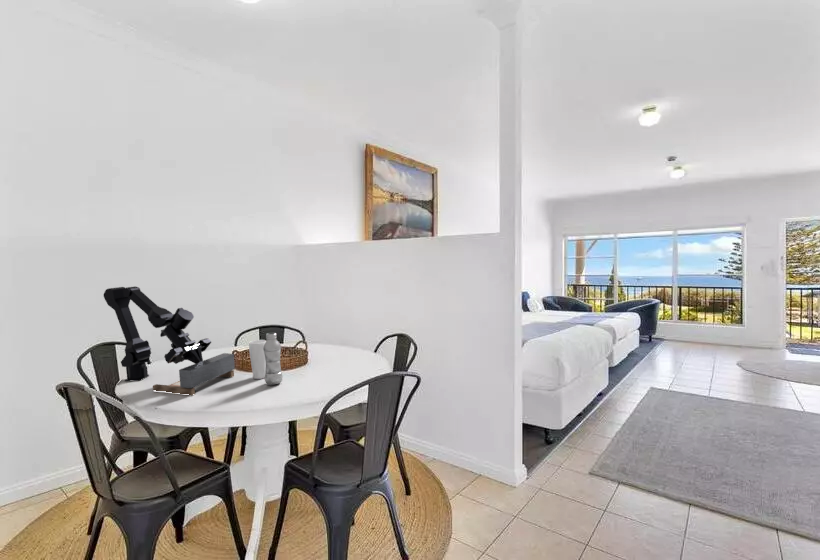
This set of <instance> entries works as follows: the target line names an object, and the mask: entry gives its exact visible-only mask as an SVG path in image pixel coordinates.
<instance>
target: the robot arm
mask: <svg viewBox="0 0 820 560" xmlns="http://www.w3.org/2000/svg"><path fill="white" fill-rule="evenodd" d="M103 299H104V301H105V302H106V304H107V306H109V307H110V308H111V309H113V310H114V312H115V315H116V317H117V318H116V319H117V320H118V323H119V326H120V327H121V328H120V329H121V331H122V335H123V336H124V339H125V342H126V344H125V347H124V352H125V353H124V354H125V355H124V357H123V358H122V359H121V361H120V364H121V367H122V368H123V367H124V368H126V369H125V370H126V371H125V372H126V378H125V379H124V382H131V381H130V380H138V381H142V380H144V379H145V377H146V378H148V377H149V376H150V374H149V372H148V366H147V363H149V362H150V357H151V354H152V351H151V350H152V348H151V346H150V343H149V341H148V340H146V339H145V340H143V339H142V338H141V337H140V333H139V330H138V329H137V325H136V322H135V320H134V317H133V315H132V313H131V309H130V306H129V305H130V302H131V301H132V302H133V303H134V304H135V306H137V307H138V308H139V309H140V310H141V311H142V312H144V313H145V314H146V315H147V319H148V321H149V322H150V324H151V325H152V327H154V328H155V329H159V328H163V327H165V328H163V329H161V330H160V337H161V338H163V337H166V338H168V340H169V341H170V342H171V344H170V347H171V349H170V350H169V351H168V353H165V354H164V355H163V356H164V357H163V358H164V361H165V362H166V363H167V364H171V363H174V364H175V365H177V364H179V363H183V362H184V361H190V362H191V363H193V364H196V363H199V362H201V361H204V358H203V352H205V351H206V350H207V349H208V348H209V346H210V345H211V344H212V341H211V339H209V338H206V337H205V338H202V339H199V340H198V342H197V343H196V340H192V339H191V338H190V337H189V336H190V333H189V332H186V333H185V331H184V330H185V329H186V328H187V327H188V326H189V324H190V323H191V322H192V320H193V319H194V317H195V316H194V314H193V312H192V311H189V310H188V309H184V308H183V307H178V308H177V309H176V310H175V313H172V312H171V311H169V310H168V309H166V308H164V307H160V306H159V305H157V304H156V303H155V302H154V301H153V300H152V299H151V298H149V297H148V296H147V294H145V293H144V292H143V291H141V288H140V287H138V286H128V287H124V286H119V287H110V288H109V287H108V288H107V289H105V290H104V293H103ZM147 376H148V377H147ZM143 378H144V379H143ZM141 379H142V380H141Z"/></svg>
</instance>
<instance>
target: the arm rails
mask: <svg viewBox="0 0 820 560" xmlns="http://www.w3.org/2000/svg"><path fill="white" fill-rule="evenodd" d="M219 377H222V378H223V377H224V378H233V377H235V369H234V370H231V371H229V372H227V373H225V374H222V375H220V376H219ZM153 390H156V391H166V392H172V393H180V394H189V395H193V394H195V395H196V392H195V391H196V390H195V387H193V388H184V387H180V386H170V384H168V385H167V384H157V383H156V384H153V385H152V391H153ZM189 395H188V396H189ZM193 396H194V395H193Z"/></svg>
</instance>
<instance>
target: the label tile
mask: <svg viewBox="0 0 820 560" xmlns="http://www.w3.org/2000/svg"><path fill="white" fill-rule="evenodd" d="M169 385H170V386H180V380H179V381H178V380H177V381H175V382H173V383H171V384H169Z"/></svg>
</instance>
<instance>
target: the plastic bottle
mask: <svg viewBox="0 0 820 560" xmlns="http://www.w3.org/2000/svg"><path fill="white" fill-rule="evenodd" d="M265 334H266V335H265V339H266V342H265V344H264V347H263V350H264V355H265V361H266V362H265V363H266V369H265V378H264V383H265V384H266V385H268V386H273V385H274V386H275V385H278V384H280V383H282V381H283V376H284V375H283V372H282V368H281V352H282V351H281V350H282V345H281V343H280V341H278V339H277V333H276V332H267V333H265Z"/></svg>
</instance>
